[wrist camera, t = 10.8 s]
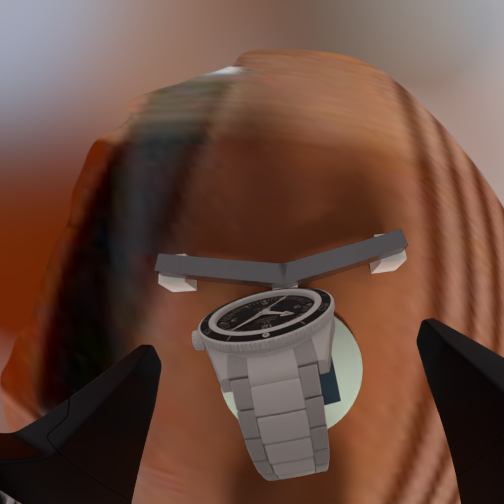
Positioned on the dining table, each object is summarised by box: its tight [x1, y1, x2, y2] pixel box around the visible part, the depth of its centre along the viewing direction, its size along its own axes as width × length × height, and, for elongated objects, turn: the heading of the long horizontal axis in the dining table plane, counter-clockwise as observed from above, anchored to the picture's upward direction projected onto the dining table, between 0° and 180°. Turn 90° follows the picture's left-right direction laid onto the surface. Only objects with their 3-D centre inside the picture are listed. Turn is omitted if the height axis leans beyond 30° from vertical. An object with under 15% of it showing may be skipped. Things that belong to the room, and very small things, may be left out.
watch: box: [192, 287, 341, 481], centre depth 11 cm, size 6×8×11 cm
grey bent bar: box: [154, 229, 408, 289], centre depth 17 cm, size 16×3×1 cm, turn 93°
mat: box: [221, 316, 363, 429], centre depth 17 cm, size 10×10×1 cm
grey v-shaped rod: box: [158, 234, 407, 292], centre depth 18 cm, size 17×3×2 cm, turn 93°
